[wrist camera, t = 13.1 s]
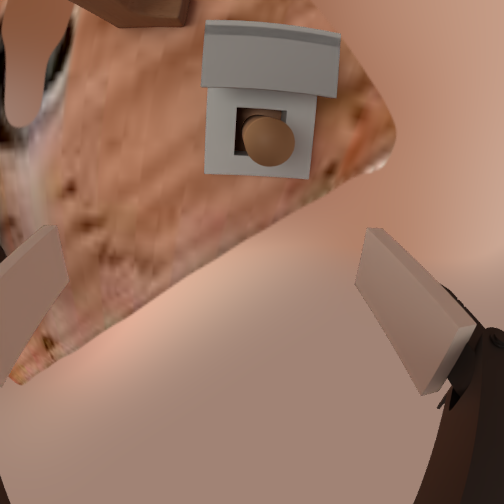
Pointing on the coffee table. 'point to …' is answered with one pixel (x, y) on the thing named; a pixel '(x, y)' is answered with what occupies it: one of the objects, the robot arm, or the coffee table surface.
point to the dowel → (267, 140)
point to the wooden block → (138, 12)
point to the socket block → (265, 88)
